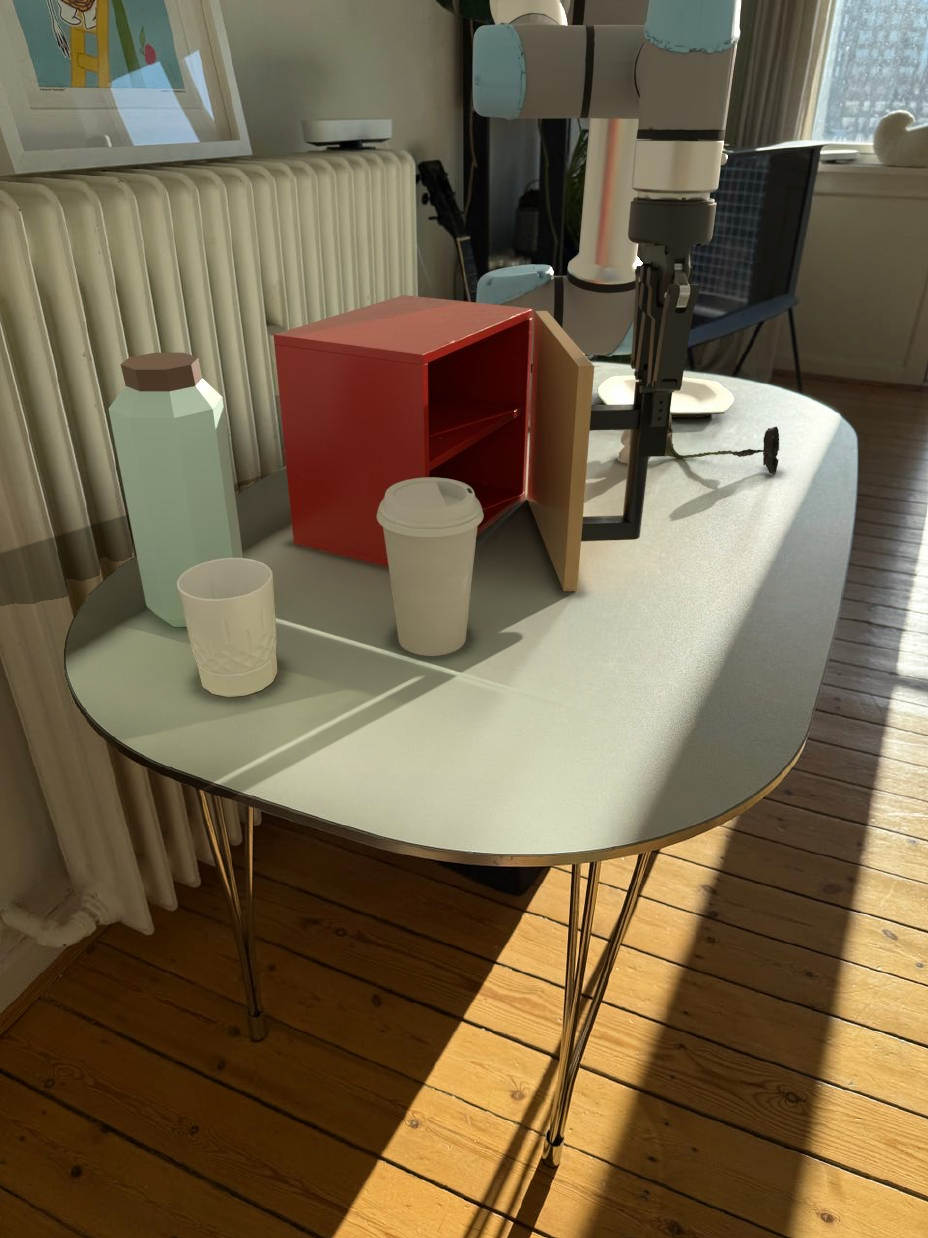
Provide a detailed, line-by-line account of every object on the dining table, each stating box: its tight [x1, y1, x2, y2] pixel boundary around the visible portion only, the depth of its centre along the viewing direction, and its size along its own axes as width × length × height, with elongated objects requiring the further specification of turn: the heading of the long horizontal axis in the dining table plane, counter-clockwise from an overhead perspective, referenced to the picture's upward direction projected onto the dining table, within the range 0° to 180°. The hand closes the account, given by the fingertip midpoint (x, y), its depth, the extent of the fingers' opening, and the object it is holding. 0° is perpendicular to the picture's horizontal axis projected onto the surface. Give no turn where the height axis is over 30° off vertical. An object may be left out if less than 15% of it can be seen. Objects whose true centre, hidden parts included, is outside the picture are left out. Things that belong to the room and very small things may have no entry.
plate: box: [596, 375, 735, 419], centre depth 156 cm, size 23×23×2 cm
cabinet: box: [272, 294, 533, 568], centre depth 106 cm, size 18×26×24 cm
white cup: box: [177, 557, 278, 698], centre depth 78 cm, size 8×8×10 cm
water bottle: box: [108, 352, 244, 628], centre depth 86 cm, size 10×10×25 cm
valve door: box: [526, 311, 650, 593], centre depth 101 cm, size 8×26×24 cm, turn 5°
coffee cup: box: [377, 477, 484, 657], centre depth 83 cm, size 10×10×15 cm
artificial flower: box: [618, 412, 780, 475], centre depth 128 cm, size 9×22×10 cm, turn 67°
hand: (646, 450), depth 91 cm, fingers open, 2 cm apart
